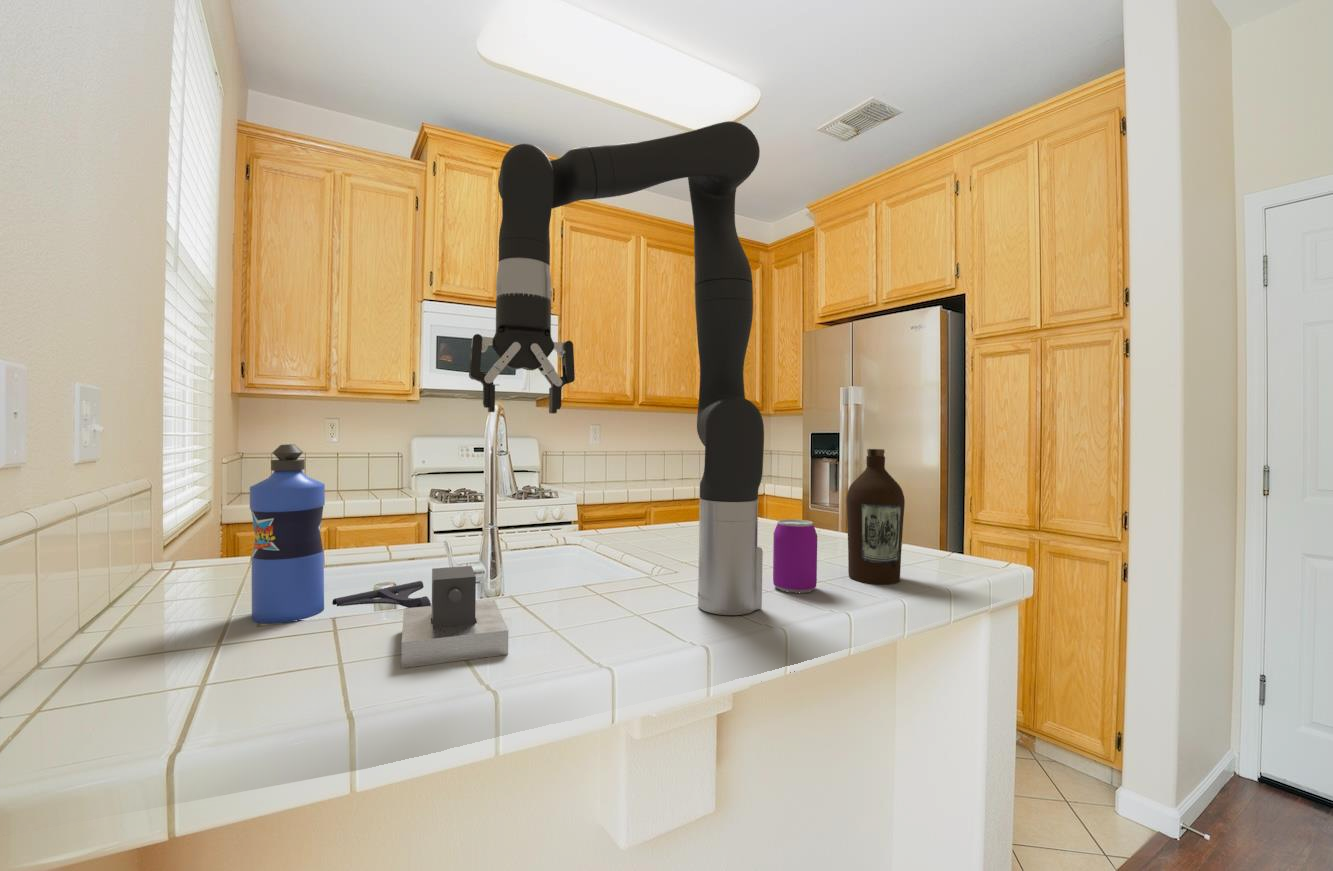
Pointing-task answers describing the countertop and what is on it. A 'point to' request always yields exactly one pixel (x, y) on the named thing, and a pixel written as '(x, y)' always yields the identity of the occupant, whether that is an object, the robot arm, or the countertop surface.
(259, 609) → the blue detergent bottle
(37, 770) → the countertop surface
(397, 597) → the bracket
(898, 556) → the olive oil
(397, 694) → the countertop surface
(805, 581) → the beverage can
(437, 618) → the plug
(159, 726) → the countertop surface
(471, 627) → the socket plate
